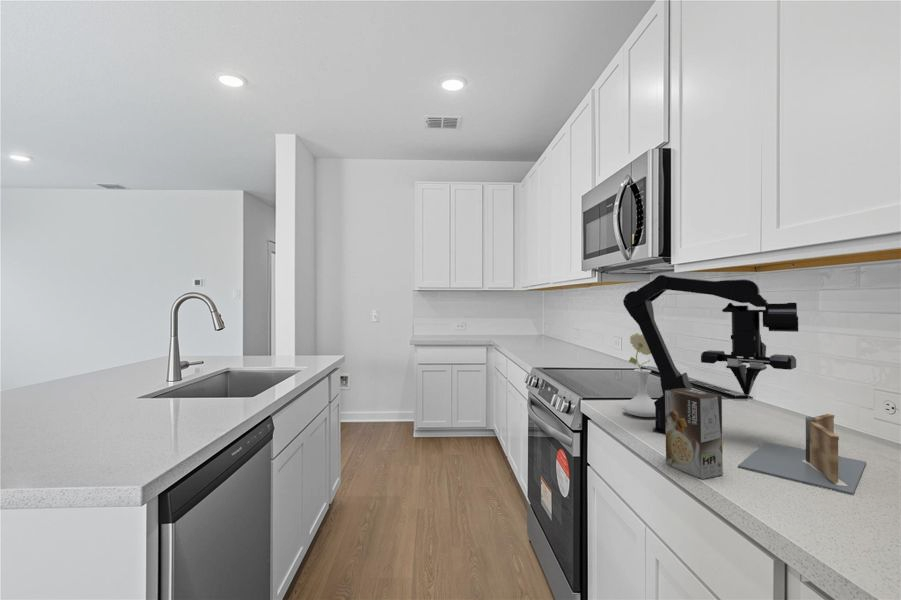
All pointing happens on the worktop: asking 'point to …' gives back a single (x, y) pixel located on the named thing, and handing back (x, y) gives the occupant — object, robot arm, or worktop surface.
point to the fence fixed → (824, 421)
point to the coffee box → (694, 432)
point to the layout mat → (802, 467)
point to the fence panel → (824, 451)
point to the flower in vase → (640, 383)
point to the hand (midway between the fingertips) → (746, 394)
